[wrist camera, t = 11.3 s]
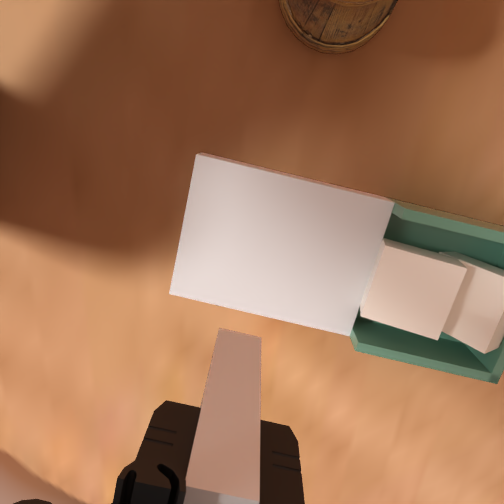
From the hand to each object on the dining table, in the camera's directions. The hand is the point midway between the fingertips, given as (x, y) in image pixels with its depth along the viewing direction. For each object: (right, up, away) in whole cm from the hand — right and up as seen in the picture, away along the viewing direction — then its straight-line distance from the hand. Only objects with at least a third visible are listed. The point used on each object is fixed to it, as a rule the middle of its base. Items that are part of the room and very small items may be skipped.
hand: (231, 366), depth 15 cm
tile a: (+14, +2, +20) cm, 24 cm away
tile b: (+17, 0, +18) cm, 25 cm away
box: (+17, +2, +23) cm, 28 cm away
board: (+3, +5, +22) cm, 23 cm away
